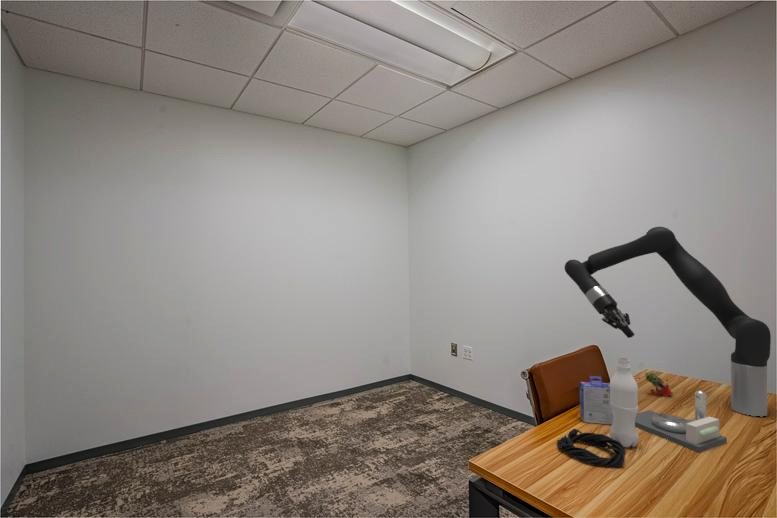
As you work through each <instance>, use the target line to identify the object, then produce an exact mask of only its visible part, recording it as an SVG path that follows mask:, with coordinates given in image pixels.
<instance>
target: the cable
mask: <svg viewBox="0 0 777 518" xmlns="http://www.w3.org/2000/svg"><path fill="white" fill-rule="evenodd" d="M556 441H557V447H558V449H559V450H560V449H562V451H563V452H564V453H566V454H568V455H569V454H570V455H571V456H572V457H574V458H575V459H577V460H578V461H579V462H582V463H585V464H586V463H587V464H590V463H591V465H593V466H600V467H607V466H608V467H609V468H611V467H612V468H620V467H622V466H623V464H624V462H625V456H626V449H625V447H623V445H622V444H621V443H620V442H618V441H616V440H614V439H612V438H611V436H608V435H606V434H603V433H595V432H582V431H580V430H579V429H577V428H573V429H571V430H570V431H569V432H568V434H567V433H566V434H565V435H564V436H562V437H561V438H560V439H557V440H556ZM582 441H583V442H585V443H584V444H586V443H588V444H590V445H589V446H591V445H592V446H591V447H593V446H596V447H595V448H600V447H601V448H600V449H604V450H611V451H613V452H614V453H613V454H612V455H611V456H610V457H609V458H608V457H602V456H599V455H597V454H596V453H594V452H592V451H590V450H588V449H586V448H584V447H583V448H582V447H577V446H575V445H574V443H575V442H582ZM573 442H574V443H573ZM583 442H582V443H583ZM588 444H587V445H588ZM561 447H562V448H561Z"/></svg>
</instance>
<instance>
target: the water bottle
mask: <svg viewBox="0 0 777 518" xmlns="http://www.w3.org/2000/svg"><path fill="white" fill-rule="evenodd" d="M609 383H610V406H611V408H612V412H613V423H612V424H611V426H610V427H609V435H610V436H609V437H610V438H612V439H614V440H616V441H618V442H620V443H621V444H622V445H623V447H624V448H631V447H633V448H634V447H636V445H637V444H638V442H639V434H638V432H637V427H635V417H636V414H637V413H639V405H638V403H639V402H638V401H639V399H638V398H639V385H638V383H637V381H636V379H635V378H634V376H633V374H632V372H631V364H630V358H627V357H623V356H622V357H621V356H620V357H617V362H616V371H615V373H614V374H613V376H612V378H611V379H610V381H609Z"/></svg>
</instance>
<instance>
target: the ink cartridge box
mask: <svg viewBox="0 0 777 518" xmlns="http://www.w3.org/2000/svg"><path fill="white" fill-rule="evenodd" d="M593 379H597V380H593ZM578 384H579V386H578V387H579V417H580V420H581V421H582V422H583V423H589V424H590V423H591V424H602V425H603V424H605V425H612V423H613V412H612V408H611V406H610V382H603V380H602V376H598V375H597V376H596V375H589V381H588V382H587V381H579V383H578Z"/></svg>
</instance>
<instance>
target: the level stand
mask: <svg viewBox="0 0 777 518" xmlns="http://www.w3.org/2000/svg"><path fill="white" fill-rule="evenodd" d="M658 413H659V412H656V411H653V410H649V409H648V410H645V411H640V412H637V414H636V417H635V428H636V429H640V430H642V431H645V432H647V433H649V434H652V435H655V436H657V435H658V437H659V436H660V438H662V437H663V438H662V439H664V438H666V439H665V440H667V439H668V440H667V441H669V440H670V441H669V442H672V441H673V442H672V443H674V442H675V443H674V444H676V443H677V445H679V446H681V447H684V448H686V449H689V450H692V451H694V452H696V453H703V452H704V451H708V450H710V449H713V448H716V447H719V446H722V445H724V444H727V437H725V436H723V435H722V434H721V435H720V419H719V418H716V417H712V416H706V418H703V419H700V420H696V421H693V422H690V423H686V434H679V433H673V432H668V431H665V430H662V429H660V428H657V427H656V426H654V425H653V424H652V415H653V414H658Z"/></svg>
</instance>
